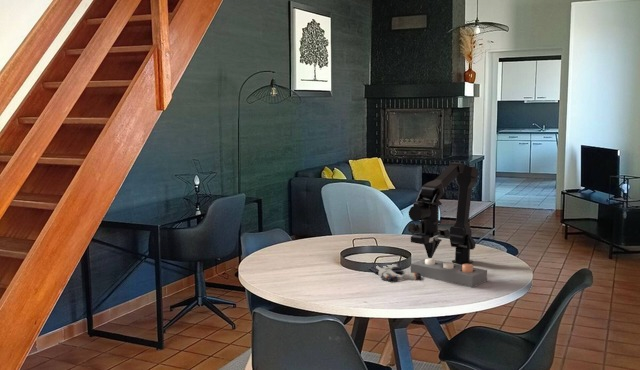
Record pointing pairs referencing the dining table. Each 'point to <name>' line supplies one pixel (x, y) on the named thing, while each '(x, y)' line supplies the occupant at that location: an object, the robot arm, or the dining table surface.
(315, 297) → the dining table surface
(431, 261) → the plug white near
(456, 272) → the socket board
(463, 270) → the plug terracotta
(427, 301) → the dining table surface
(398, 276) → the toy gun
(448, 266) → the plug white mid
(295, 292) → the dining table surface
